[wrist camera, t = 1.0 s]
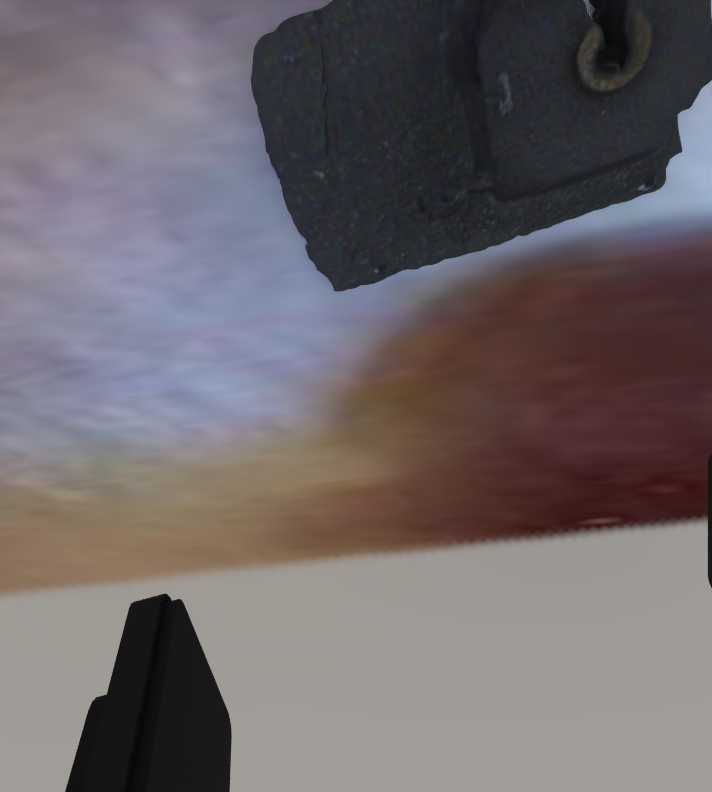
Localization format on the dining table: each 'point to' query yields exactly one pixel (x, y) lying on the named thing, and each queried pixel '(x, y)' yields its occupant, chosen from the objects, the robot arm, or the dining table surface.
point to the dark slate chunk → (469, 119)
